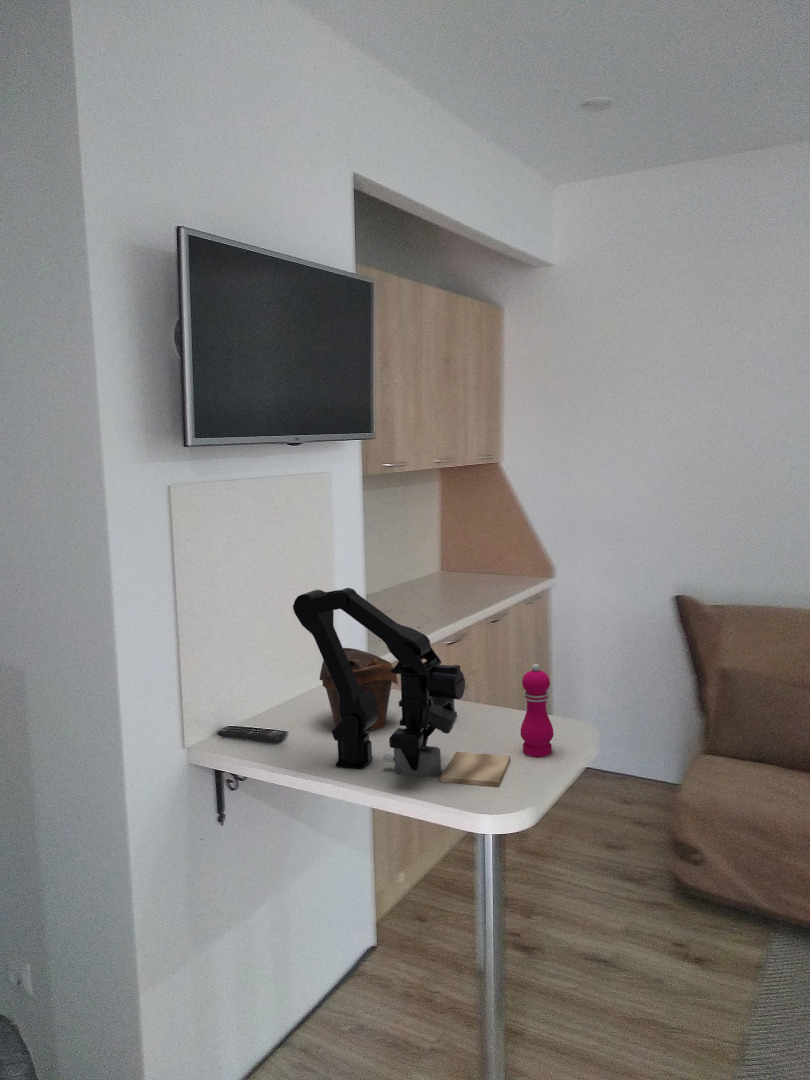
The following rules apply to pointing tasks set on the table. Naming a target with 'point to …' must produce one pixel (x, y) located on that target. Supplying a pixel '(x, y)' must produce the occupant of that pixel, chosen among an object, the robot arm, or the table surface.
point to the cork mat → (476, 769)
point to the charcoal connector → (426, 765)
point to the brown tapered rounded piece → (363, 682)
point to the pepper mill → (536, 714)
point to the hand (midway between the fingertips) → (417, 766)
